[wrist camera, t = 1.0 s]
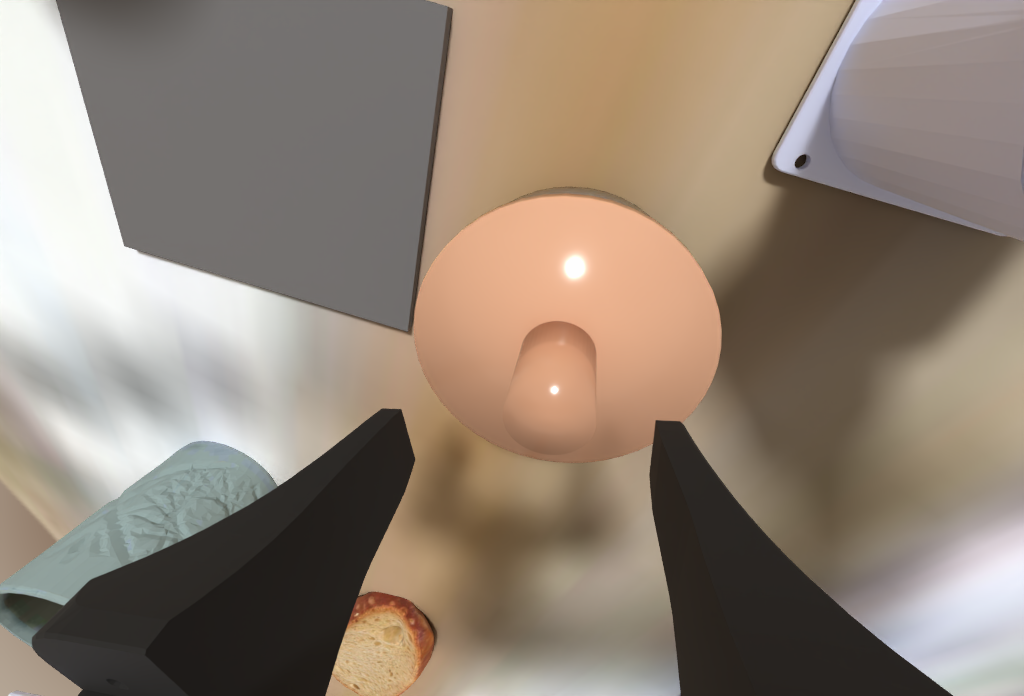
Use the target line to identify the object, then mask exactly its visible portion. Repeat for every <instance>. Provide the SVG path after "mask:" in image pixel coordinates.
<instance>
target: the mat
mask: <svg viewBox="0 0 1024 696" xmlns="http://www.w3.org/2000/svg"><path fill="white" fill-rule="evenodd" d="M56 2H57V5H58V9H59V13H60V16H61V20H62V23H63V27H64V31H65V34H66V38H67V41H68V45H69V49H70V52H71V56H72V59H73V63H74V67H75V70H76V74H77V77H78V81H79V85H80V88H81V92H82V95H83V99H84V103H85V106H86V110H87V113H88V117H89V121H90V124H91V128H92V131H93V135H94V139H95V142H96V146H97V149H98V153H99V157H100V160H101V164H102V167H103V171H104V175H105V178H106V182H107V185H108V189H109V193H110V196H111V200H112V203H113V207H114V211H115V214H116V218H117V221H118V225H119V229H120V232H121V236H122V239H123V243H124V246H125V247H129V248H132V249H135V250H139V251H142V252H145V253H149V254H152V255H155V256H159V257H162V258H165V259H169V260H172V261H175V262H178V263H182V264H185V265H188V266H192V267H195V268H198V269H202V270H205V271H208V272H212V273H215V274H218V275H222V276H225V277H228V278H231V279H235V280H238V281H241V282H245V283H248V284H251V285H255V286H258V287H261V288H265V289H268V290H271V291H275V292H278V293H281V294H284V295H288V296H291V297H294V298H298V299H301V300H304V301H308V302H311V303H314V304H318V305H321V306H324V307H328V308H331V309H334V310H337V311H341V312H344V313H347V314H351V315H354V316H357V317H361V318H364V319H367V320H371V321H374V322H377V323H381V324H384V325H387V326H390V327H394V328H397V329H400V330H404V331H407V332H408V331H409V329H410V328H411V327H412V320H413V313H414V305H415V297H416V289H417V282H418V274H419V266H420V258H421V251H422V243H423V235H424V227H425V219H426V212H427V204H428V196H429V188H430V181H431V173H432V165H433V157H434V150H435V142H436V134H437V126H438V118H439V111H440V103H441V95H442V87H443V80H444V72H445V64H446V56H447V49H448V41H449V33H450V25H451V17H452V10H453V9H451V8H449V7H447V6H444V5H440V4H437V3H433V2H430V1H426V0H56Z"/></svg>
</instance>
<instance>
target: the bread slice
mask: <svg viewBox="0 0 1024 696" xmlns="http://www.w3.org/2000/svg"><path fill="white" fill-rule="evenodd" d="M433 647H434V634H433V632H432V629H431V627H430V625H429V623H428V621H427V620H426V618H425V616H424V615H423V613H422V612H421V611H420V610H419V609H417V608H416V607H415V605H414V604H413V603H412V602H411V601H409V600H407V599H404V598H401V597H397V596H393V595H389V594H385V593H379V592H369V593H367V594H365V595H363V596H359V597H357V600H356V603H355V605H354V608H353V611H352V614H351V617H350V620H349V623H348V626H347V629H346V632H345V635H344V637H343V640H342V643H341V646H340V649H339V653H338V656H337V659H336V662H335V666H334V669H333V672H332V675H333V676H334V677H335V678H336V679H337V680H338V681H339V682H341V683H342V684H343V685H344V686H346V687H347V688H349V689H351V690H352V691H354V692H355V693H357V694H359V695H360V696H399V695H400V694H402V693H403V692H404V691H405V690H407V689H408V688H409V687H410V686H411V685H412V684H413V683H414V682H415V681H416V680H417V678H418V677H419V676H420V674H421V673H422V671H423V670H424V668H425V666H426V665H427V663H428V662H429V660H430V658H431V655H432V651H433Z"/></svg>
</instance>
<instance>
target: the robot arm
mask: <svg viewBox="0 0 1024 696" xmlns="http://www.w3.org/2000/svg"><path fill="white" fill-rule="evenodd" d="M803 154H805V155H806V158H807V159H806V162H805V163H804V165H803V166H801V167H799V168H795V161H796V159H797V158H798V157H799V156H801V155H803ZM772 165H773V167H774V168H775V169H777V170H779V171H781V172H783V173H787V174H790V175H794V176H797V177H801V178H804V179H807V180H811V181H814V182H818V183H821V184H824V185H828V186H831V187H835V188H838V189H841V190H845V191H848V192H852V193H855V194H858V195H862V196H865V197H869V198H872V199H876V200H879V201H882V202H886V203H889V204H893V205H896V206H899V207H903V208H906V209H910V210H913V211H916V212H920V213H923V214H927V215H930V216H934V217H937V218H940V219H944V220H947V221H951V222H954V223H957V224H961V225H964V226H968V227H971V228H974V229H978V230H981V231H985V232H988V233H992V234H995V235H998V236H1009V237H1012V238H1015V239H1017V240H1020V241H1023V242H1024V0H856V1H855V3H854V5H853V7H852V8H851V10H850V12H849V14H848V16H847V18H846V20H845V21H844V23H843V25H842V27H841V29H840V31H839V33H838V34H837V36H836V38H835V40H834V42H833V44H832V45H831V47H830V49H829V51H828V53H827V55H826V57H825V58H824V60H823V62H822V64H821V66H820V68H819V70H818V71H817V73H816V75H815V77H814V79H813V81H812V83H811V84H810V86H809V88H808V90H807V92H806V94H805V95H804V97H803V99H802V101H801V103H800V105H799V107H798V108H797V110H796V112H795V114H794V116H793V118H792V120H791V121H790V123H789V125H788V127H787V129H786V131H785V133H784V134H783V136H782V138H781V140H780V142H779V144H778V146H777V147H776V149H775V151H774V153H773V156H772ZM414 462H415V457H414V453H413V449H412V446H411V442H410V439H409V435H408V432H407V428H406V424H405V421H404V417H403V414H402V410H401V409H381V410H380V411H378V412H377V413H375V414H374V415H373V416H372V417H370V418H369V419H368V420H366V421H365V422H364V423H363V424H361V425H360V426H359V427H358V428H356V429H355V430H354V431H353V432H351V433H350V434H349V435H348V436H346V437H345V438H344V439H342V440H341V441H340V442H339V443H337V444H336V445H335V446H334V447H332V448H331V449H330V450H328V451H327V452H326V453H325V454H323V455H322V456H321V457H319V458H318V459H316V460H315V461H314V462H312V463H311V464H310V465H308V466H307V467H305V468H304V469H303V470H301V471H300V472H299V473H297V474H296V475H294V476H293V477H292V478H290V479H289V480H287V481H286V482H284V483H283V484H281V485H280V486H278V487H277V488H275V489H274V490H272V491H271V492H269V493H267V494H266V495H264V496H262V497H261V498H259V499H258V500H256V501H254V502H253V503H251V504H249V505H248V506H246V507H244V508H242V509H241V510H239V511H237V512H235V513H233V514H231V515H230V516H228V517H226V518H224V519H222V520H221V521H219V522H217V523H215V524H213V525H211V526H210V527H208V528H206V529H204V530H202V531H200V532H198V533H196V534H194V535H192V536H190V537H188V538H186V539H184V540H182V541H179V542H177V543H175V544H173V545H171V546H169V547H167V548H164V549H162V550H160V551H158V552H156V553H153V554H151V555H149V556H147V557H144V558H142V559H139V560H137V561H134V562H132V563H130V564H127V565H125V566H122V567H120V568H117V569H115V570H113V571H110V572H108V573H105V574H103V575H100V576H98V577H95V578H93V579H91V580H89V581H88V582H87V583H86V584H85V585H84V586H83V587H82V588H81V589H80V590H79V591H78V592H77V593H76V594H75V595H74V596H73V597H72V598H71V599H70V600H69V601H68V602H67V603H66V604H65V605H64V606H63V607H62V608H61V609H60V610H59V611H58V612H57V613H56V614H55V615H54V616H53V617H52V618H51V619H50V620H49V621H48V622H47V623H46V624H45V625H44V626H43V627H42V628H41V629H40V630H39V631H38V632H37V633H36V634H35V635H34V636H33V637H32V648H33V649H34V650H35V652H36V653H37V654H38V656H40V657H41V658H42V659H43V660H44V661H46V662H47V663H48V664H49V665H51V666H52V667H53V668H55V669H56V670H58V671H59V672H60V673H61V674H63V675H64V676H65V677H67V678H68V679H69V680H71V681H72V682H74V683H75V684H76V685H78V686H79V687H80V688H82V689H83V690H82V691H81V692H80V693H79V695H78V696H325V695H326V692H327V688H328V685H329V682H330V679H331V675H332V672H333V669H334V666H335V662H336V659H337V656H338V653H339V649H340V646H341V643H342V640H343V637H344V635H345V632H346V629H347V626H348V623H349V620H350V617H351V614H352V611H353V608H354V605H355V603H356V600H357V597H358V595H359V592H360V589H361V586H362V584H363V581H364V578H365V576H366V573H367V571H368V569H369V567H370V564H371V562H372V560H373V558H374V556H375V553H376V551H377V549H378V547H379V545H380V543H381V541H382V539H383V537H384V535H385V533H386V531H387V529H388V526H389V524H390V522H391V520H392V518H393V516H394V514H395V512H396V510H397V508H398V505H399V503H400V501H401V499H402V497H403V495H404V492H405V490H406V487H407V484H408V481H409V478H410V475H411V472H412V469H413V465H414ZM650 488H651V499H652V510H653V516H654V521H655V526H656V531H657V536H658V541H659V546H660V551H661V556H662V561H663V566H664V571H665V576H666V581H667V586H668V591H669V596H670V602H671V608H672V614H673V623H674V632H675V641H676V650H677V660H678V670H679V680H680V690H681V696H953V695H951V694H950V693H949V692H947V691H946V690H945V689H943V688H942V687H941V686H939V685H938V684H937V683H936V682H934V681H933V680H932V679H930V678H929V677H928V676H926V675H925V674H924V673H922V672H921V671H920V670H918V669H917V668H916V667H914V666H913V665H912V664H910V663H909V662H908V661H906V660H905V659H904V658H902V657H901V656H900V655H898V654H897V653H896V652H894V651H893V650H892V649H891V648H889V647H888V646H887V645H886V644H884V643H883V642H882V641H881V640H880V639H878V638H877V637H876V636H875V635H873V634H872V633H871V632H870V631H869V630H867V629H866V628H865V627H864V626H863V625H861V624H860V623H859V622H858V621H856V620H855V619H854V618H853V617H852V616H851V615H849V614H848V613H847V612H846V611H845V610H844V609H843V608H842V607H841V606H839V605H838V604H837V603H836V602H835V601H834V600H833V599H832V598H831V597H829V596H828V595H827V594H826V593H825V592H824V591H823V590H822V589H820V588H819V587H818V586H817V585H816V584H815V583H814V582H813V581H812V580H810V579H809V578H808V577H807V576H806V575H805V574H804V573H803V572H802V571H801V570H800V569H799V568H798V567H797V566H796V565H795V564H794V563H793V562H792V561H791V560H790V559H789V558H788V557H787V556H786V555H785V554H784V553H783V552H782V551H781V550H780V549H779V548H778V547H777V546H776V545H775V544H774V543H773V541H772V540H771V539H770V538H769V537H768V536H767V535H766V534H765V533H764V532H763V531H762V530H761V528H760V527H759V526H758V525H757V524H756V523H755V522H754V521H753V519H752V518H751V517H750V516H749V515H748V514H747V512H746V511H745V510H744V509H743V508H742V506H741V505H740V504H739V503H738V502H737V500H736V499H735V498H734V497H733V495H732V494H731V493H730V492H729V490H728V489H727V488H726V486H725V485H724V484H723V482H722V481H721V480H720V478H719V477H718V476H717V474H716V473H715V472H714V470H713V469H712V468H711V466H710V465H709V463H708V462H707V460H706V459H705V458H704V456H703V455H702V453H701V452H700V450H699V449H698V447H697V446H696V444H695V443H694V441H693V439H692V438H691V436H690V435H689V433H688V431H687V430H686V428H685V426H684V425H683V424H682V423H681V422H680V421H663V420H656V421H655V430H654V439H653V448H652V457H651V466H650ZM8 696H40V695H35V694H31V693H26V692H21V691H15V692H12V693H10V694H9V695H8Z"/></svg>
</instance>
